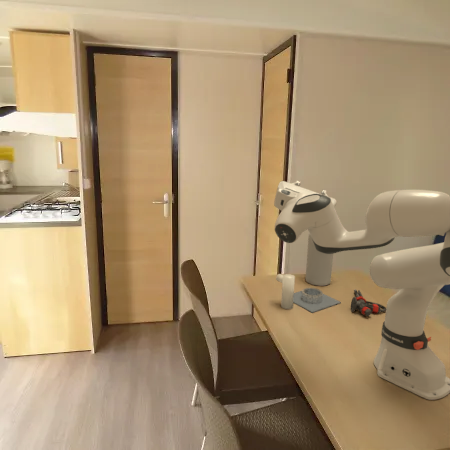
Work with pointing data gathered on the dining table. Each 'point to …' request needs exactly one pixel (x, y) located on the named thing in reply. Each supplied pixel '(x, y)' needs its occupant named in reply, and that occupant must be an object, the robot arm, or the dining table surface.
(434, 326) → the dining table surface
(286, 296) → the cream peg
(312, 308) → the slate plate
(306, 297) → the collar
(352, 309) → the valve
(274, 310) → the dining table surface
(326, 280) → the cylinder vase
